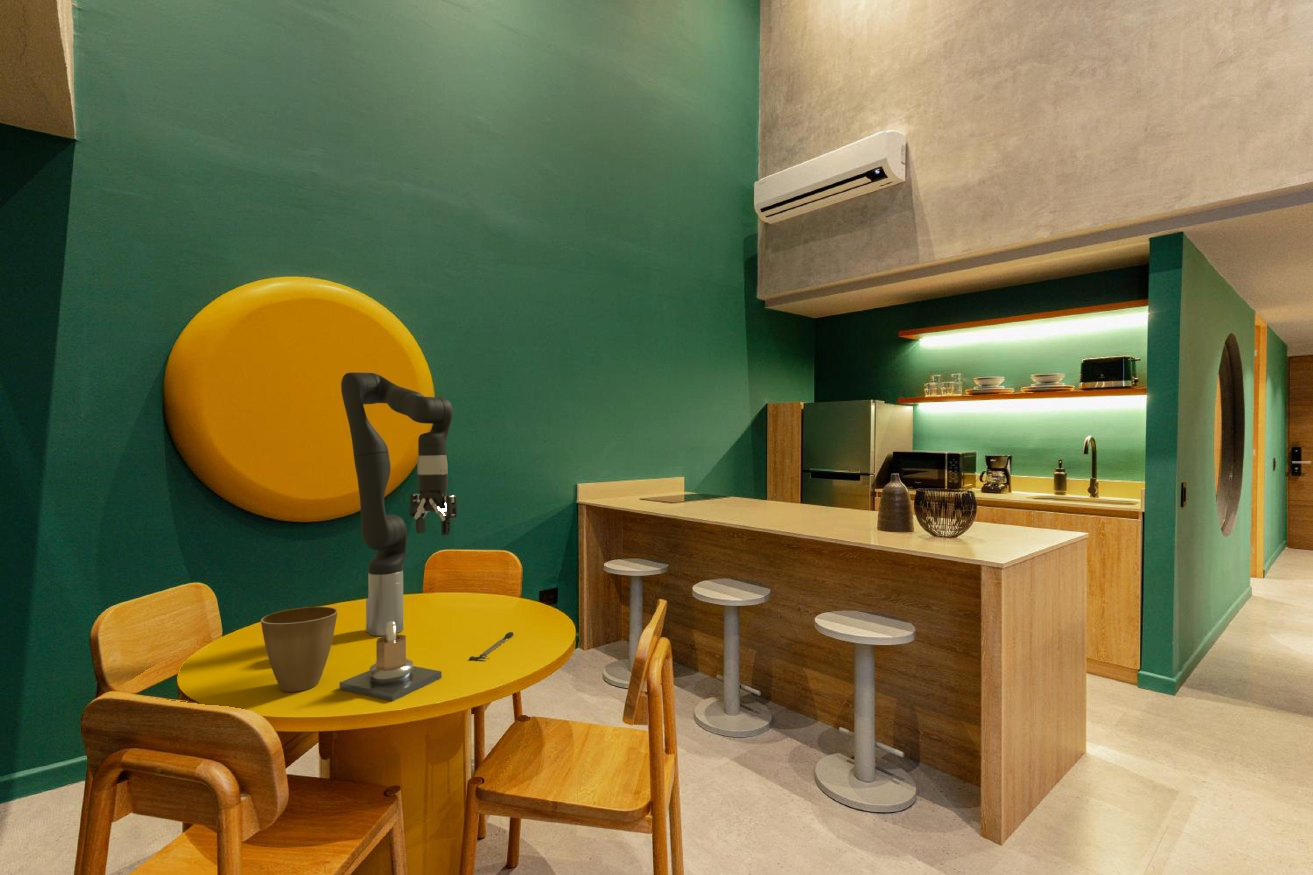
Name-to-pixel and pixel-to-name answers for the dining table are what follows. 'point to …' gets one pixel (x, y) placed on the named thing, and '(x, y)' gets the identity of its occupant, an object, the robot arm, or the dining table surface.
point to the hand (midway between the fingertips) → (433, 534)
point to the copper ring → (391, 653)
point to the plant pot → (299, 645)
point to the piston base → (390, 688)
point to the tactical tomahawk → (491, 648)
